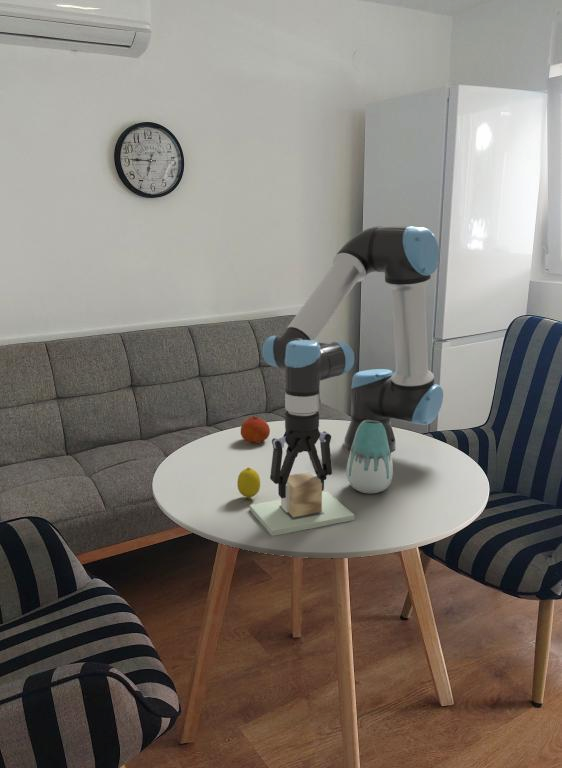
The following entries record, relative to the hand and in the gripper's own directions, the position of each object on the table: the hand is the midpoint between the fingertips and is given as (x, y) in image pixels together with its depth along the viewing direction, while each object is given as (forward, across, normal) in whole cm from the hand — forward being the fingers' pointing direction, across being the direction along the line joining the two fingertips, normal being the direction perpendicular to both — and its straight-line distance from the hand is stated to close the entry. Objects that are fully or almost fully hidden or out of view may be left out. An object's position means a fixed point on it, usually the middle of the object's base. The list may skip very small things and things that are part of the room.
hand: (301, 506), depth 148 cm
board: (+2, 0, 0) cm, 2 cm away
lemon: (+2, +8, -13) cm, 15 cm away
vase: (+2, -22, -7) cm, 23 cm away
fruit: (+2, -8, -51) cm, 52 cm away
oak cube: (0, 0, 0) cm, 0 cm away
